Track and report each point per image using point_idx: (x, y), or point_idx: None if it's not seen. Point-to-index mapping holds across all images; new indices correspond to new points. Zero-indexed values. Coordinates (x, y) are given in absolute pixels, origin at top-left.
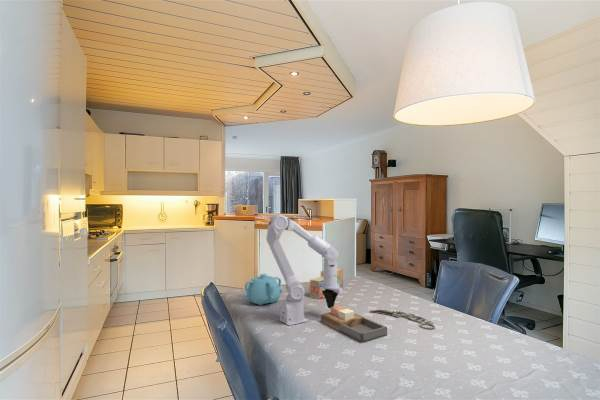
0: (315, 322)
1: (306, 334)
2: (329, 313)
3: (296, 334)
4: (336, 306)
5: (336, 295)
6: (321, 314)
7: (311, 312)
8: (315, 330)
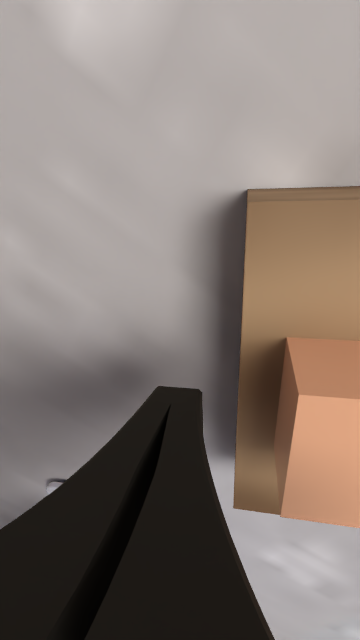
0: (219, 479)
1: (355, 601)
2: (263, 452)
3: (314, 619)
4: (316, 458)
5: (252, 609)
6: (236, 507)
7: (2, 381)
8: (345, 552)
